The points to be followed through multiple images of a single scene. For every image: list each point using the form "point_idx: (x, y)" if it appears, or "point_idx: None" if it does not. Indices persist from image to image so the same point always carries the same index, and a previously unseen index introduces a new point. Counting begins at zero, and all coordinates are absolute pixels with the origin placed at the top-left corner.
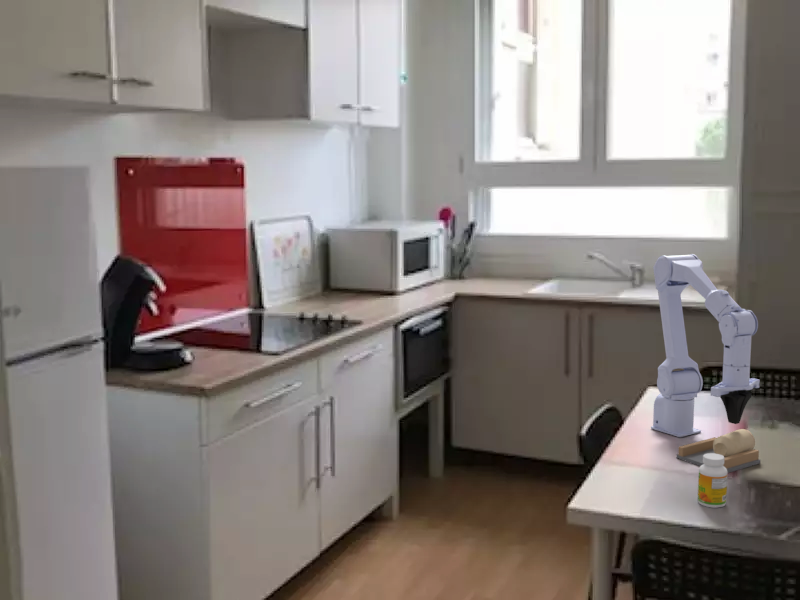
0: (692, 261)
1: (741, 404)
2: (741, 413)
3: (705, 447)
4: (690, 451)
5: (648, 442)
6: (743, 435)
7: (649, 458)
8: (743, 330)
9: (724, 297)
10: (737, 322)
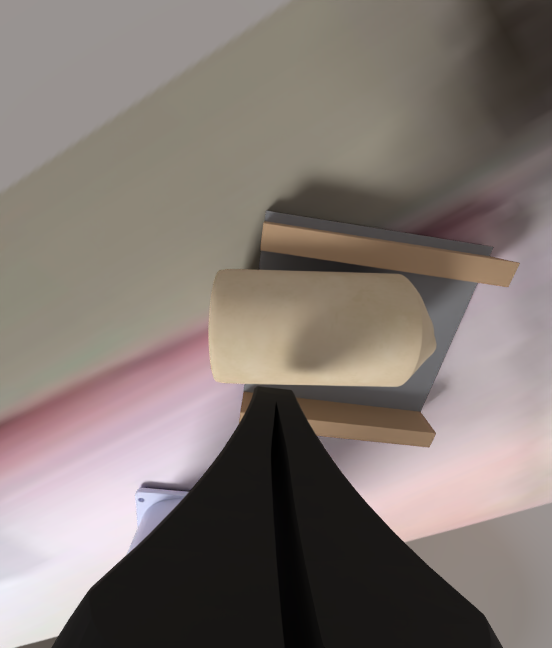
0: None
1: (297, 508)
2: (255, 426)
3: (312, 406)
4: (388, 414)
5: None
6: (290, 314)
7: (453, 460)
8: None
9: None
10: None
